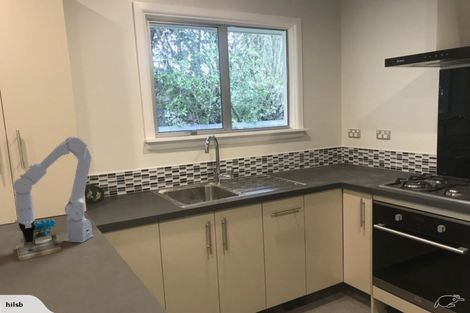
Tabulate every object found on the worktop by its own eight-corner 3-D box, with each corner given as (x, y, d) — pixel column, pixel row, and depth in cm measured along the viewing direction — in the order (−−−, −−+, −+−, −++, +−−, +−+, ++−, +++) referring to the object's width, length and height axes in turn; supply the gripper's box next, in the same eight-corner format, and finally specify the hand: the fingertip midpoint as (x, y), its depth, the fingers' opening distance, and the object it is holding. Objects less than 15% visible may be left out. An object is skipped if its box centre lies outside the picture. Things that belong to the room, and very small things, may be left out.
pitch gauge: (55, 240, 154) (54, 231, 153) (61, 250, 141) (60, 241, 141) (16, 248, 146) (15, 239, 145) (19, 260, 133) (17, 250, 133)
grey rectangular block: (34, 241, 147) (33, 227, 146) (36, 246, 141) (34, 232, 140) (23, 244, 144) (21, 229, 144) (24, 249, 138) (23, 234, 138)
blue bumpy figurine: (56, 225, 169) (53, 215, 162) (59, 236, 166) (57, 226, 159) (30, 233, 164) (26, 223, 156) (33, 244, 161) (29, 234, 154)
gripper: (12, 206, 146) (16, 238, 148) (14, 214, 134) (18, 248, 136) (32, 203, 150) (35, 234, 152) (35, 210, 138) (39, 243, 140)
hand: (29, 240), depth 144 cm, fingers closed on grey rectangular block, 3 cm apart
